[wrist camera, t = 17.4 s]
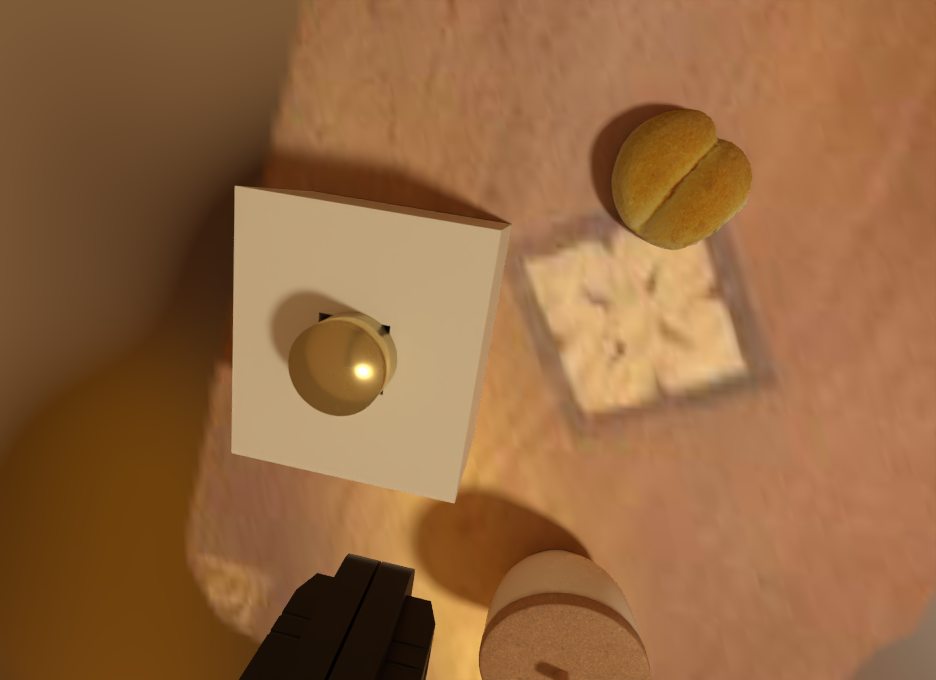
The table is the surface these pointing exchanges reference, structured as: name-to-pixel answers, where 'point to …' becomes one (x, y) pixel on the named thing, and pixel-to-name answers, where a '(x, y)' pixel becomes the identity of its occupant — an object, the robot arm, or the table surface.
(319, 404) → the brass-head pin
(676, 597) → the table surface
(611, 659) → the lidded bowl
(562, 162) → the table surface
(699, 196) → the bread roll
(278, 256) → the pin block
